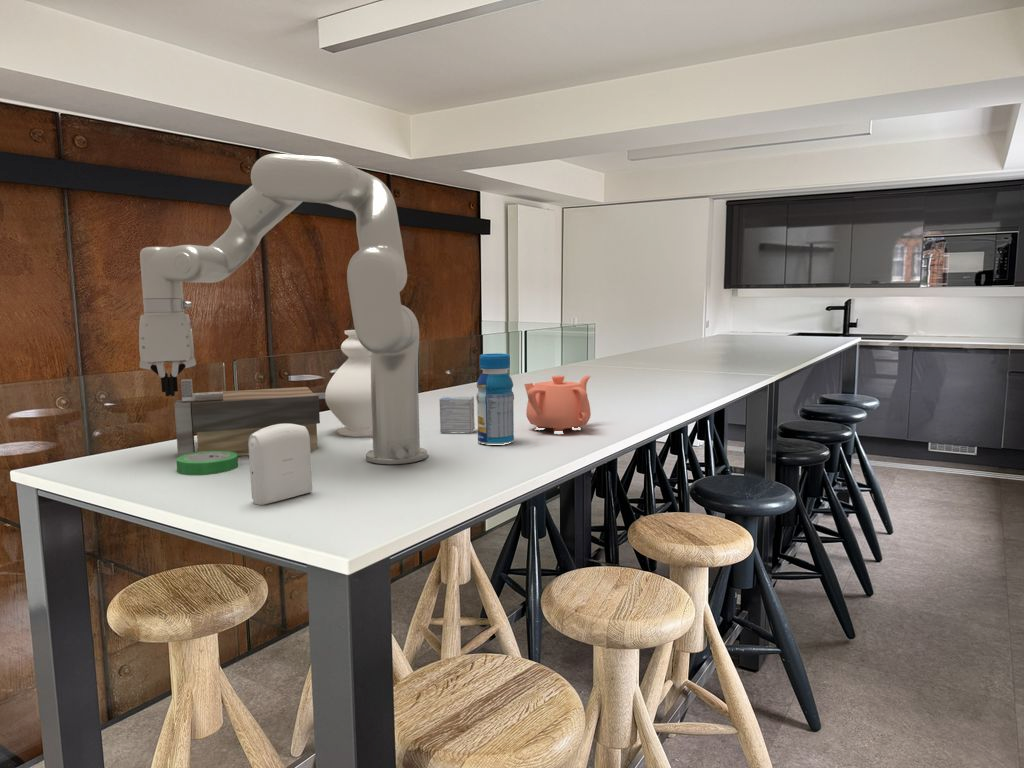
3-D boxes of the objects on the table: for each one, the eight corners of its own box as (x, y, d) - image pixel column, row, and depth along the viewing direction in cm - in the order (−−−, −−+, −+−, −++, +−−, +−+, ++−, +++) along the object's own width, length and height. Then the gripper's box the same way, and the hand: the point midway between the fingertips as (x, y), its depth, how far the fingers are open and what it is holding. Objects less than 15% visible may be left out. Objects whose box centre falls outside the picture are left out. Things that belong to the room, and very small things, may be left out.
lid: (319, 423, 155) (318, 395, 154) (193, 432, 146) (191, 403, 145) (308, 408, 176) (307, 384, 175) (197, 415, 167) (195, 390, 166)
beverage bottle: (502, 448, 156) (501, 356, 154) (469, 444, 160) (468, 355, 158) (521, 441, 164) (520, 353, 161) (489, 437, 168) (488, 352, 165)
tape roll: (250, 465, 144) (249, 452, 144) (209, 478, 134) (208, 464, 134) (207, 461, 148) (206, 448, 148) (164, 473, 138) (163, 460, 137)
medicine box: (475, 430, 177) (474, 395, 176) (472, 434, 173) (471, 398, 172) (443, 430, 178) (442, 395, 177) (439, 433, 173) (439, 398, 172)
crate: (317, 449, 157) (315, 397, 156) (177, 461, 147) (173, 406, 146) (307, 433, 176) (305, 387, 174) (182, 442, 165) (179, 394, 164)
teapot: (524, 424, 184) (524, 372, 183) (590, 423, 185) (590, 371, 183) (527, 436, 168) (526, 379, 167) (598, 436, 169) (599, 379, 167)
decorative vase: (384, 422, 189) (381, 327, 186) (412, 433, 174) (409, 330, 171) (317, 430, 180) (313, 330, 177) (340, 442, 165) (336, 333, 162)
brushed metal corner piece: (223, 398, 153) (222, 378, 153) (182, 401, 150) (180, 380, 150) (223, 397, 156) (222, 377, 155) (182, 399, 153) (181, 379, 152)
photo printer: (261, 507, 114) (257, 430, 113) (247, 502, 117) (243, 427, 115) (316, 493, 122) (313, 421, 120) (302, 489, 125) (298, 419, 123)
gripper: (203, 306, 155) (209, 391, 157) (125, 308, 149) (132, 395, 151) (202, 307, 148) (208, 395, 150) (120, 308, 142) (128, 400, 144)
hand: (170, 395), depth 151 cm, fingers closed
